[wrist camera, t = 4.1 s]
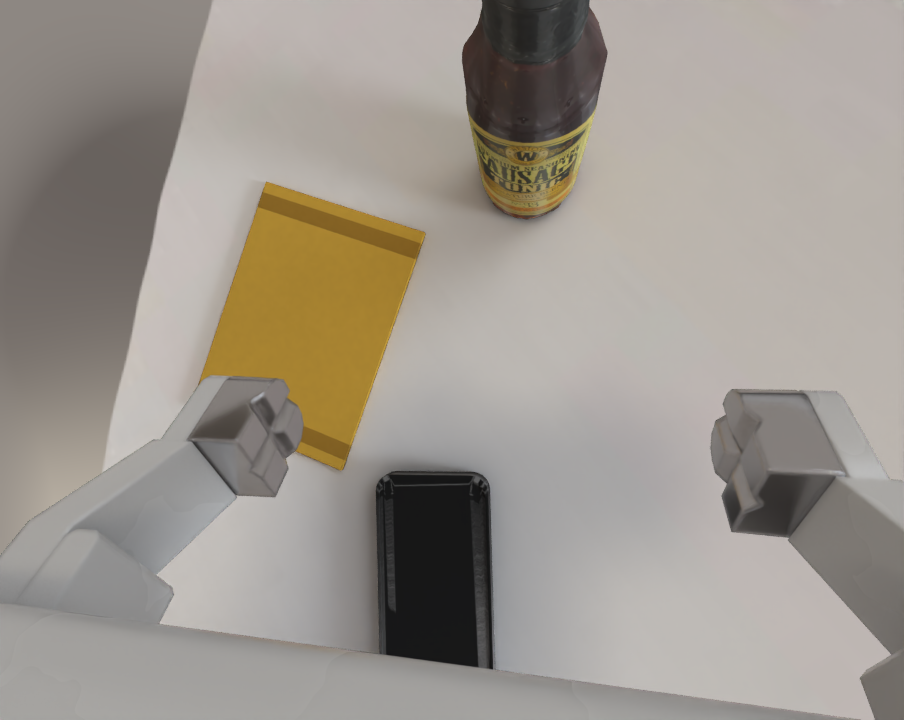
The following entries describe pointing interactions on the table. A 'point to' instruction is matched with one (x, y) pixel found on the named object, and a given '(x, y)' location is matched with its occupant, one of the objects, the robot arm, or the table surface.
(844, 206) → the table surface
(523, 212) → the sauce bottle
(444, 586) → the phone
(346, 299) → the tray
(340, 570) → the table surface
